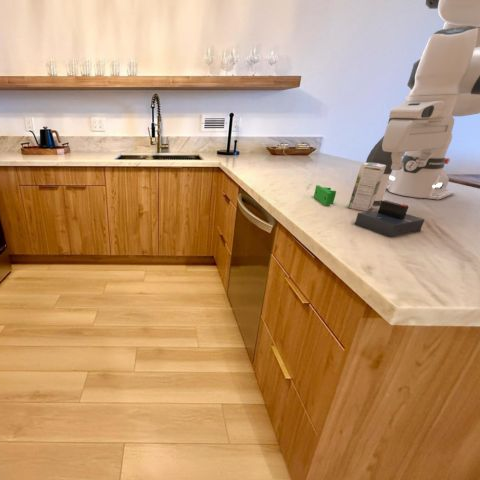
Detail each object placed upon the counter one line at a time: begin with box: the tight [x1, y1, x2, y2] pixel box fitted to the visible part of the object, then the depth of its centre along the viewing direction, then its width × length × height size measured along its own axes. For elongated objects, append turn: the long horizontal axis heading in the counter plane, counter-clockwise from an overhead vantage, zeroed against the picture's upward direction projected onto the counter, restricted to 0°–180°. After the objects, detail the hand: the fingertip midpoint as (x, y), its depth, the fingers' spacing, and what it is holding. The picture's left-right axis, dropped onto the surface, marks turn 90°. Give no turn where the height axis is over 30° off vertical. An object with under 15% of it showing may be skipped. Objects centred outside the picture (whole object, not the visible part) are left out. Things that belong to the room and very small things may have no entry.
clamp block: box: [354, 209, 426, 238], centre depth 79 cm, size 12×10×4 cm
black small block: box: [377, 199, 409, 220], centre depth 78 cm, size 6×2×4 cm, turn 21°
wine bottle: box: [365, 117, 394, 206], centre depth 96 cm, size 8×8×30 cm
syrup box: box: [347, 162, 386, 212], centre depth 93 cm, size 6×6×14 cm
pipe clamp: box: [313, 184, 337, 207], centre depth 102 cm, size 11×4×5 cm, turn 173°
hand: (407, 168), depth 74 cm, fingers open, 8 cm apart
